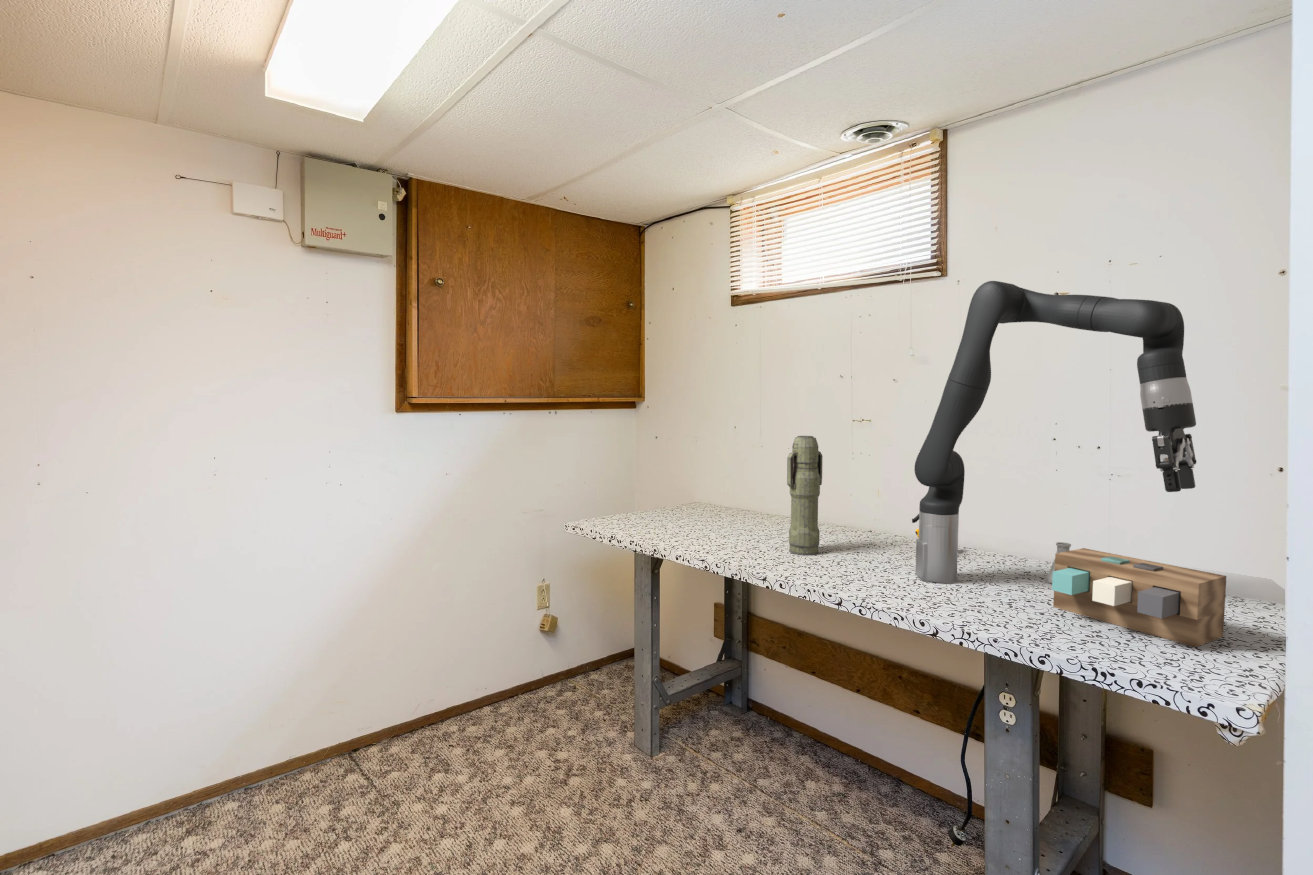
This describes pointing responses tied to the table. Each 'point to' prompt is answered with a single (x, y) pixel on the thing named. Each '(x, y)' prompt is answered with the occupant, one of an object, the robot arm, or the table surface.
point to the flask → (1060, 548)
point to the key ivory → (1112, 591)
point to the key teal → (1071, 581)
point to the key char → (1159, 602)
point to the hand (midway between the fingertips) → (1180, 490)
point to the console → (1197, 588)
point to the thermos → (804, 495)
